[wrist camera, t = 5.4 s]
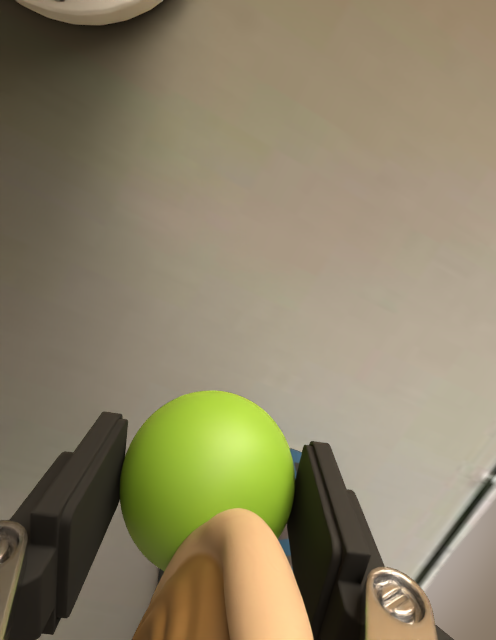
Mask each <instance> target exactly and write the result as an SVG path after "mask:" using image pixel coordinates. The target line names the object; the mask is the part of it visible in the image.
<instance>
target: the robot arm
mask: <svg viewBox="0 0 496 640" xmlns="http://www.w3.org/2000/svg"><path fill="white" fill-rule="evenodd" d="M15 1H17V2H18V3H19V4H21V5H22V6H24V7H26V8H29V9H31V10H33V11H35V12H37V13H39V14H41V15H43V16H45V17H47V18H51V19H54V20H58V21H62V22H66V23H70V24H74V25H106V24H111V23H116V22H121V21H126V20H129V19H131V18H133V17H136V16H138V15H140V14H142V13H145V12H147V11H149V10H151V9H152V8H154V7H155V6H157V5H158V4H159V3H161V2H162V1H163V0H65V1H64V0H15ZM127 427H128V420H126V419H122V414H118V413H111V412H102V413H101V415H100V416H99V418H98V419H97V420H96V422H95V423H94V425H93V426H92V427H91V429H90V430H89V432H88V433H87V434H86V436H85V437H84V439H83V440H82V441H81V443H80V444H79V445H78V447H77V448H76V450H75V451H74V452H62V453H61V454H60V455H59V456H58V458H57V459H56V460H55V462H54V463H53V464H52V466H51V467H50V468H49V469H48V471H47V472H46V473H45V475H44V476H43V477H42V479H41V480H40V481H39V482H38V484H37V485H36V486H35V488H34V489H33V490H32V492H31V493H30V494H29V495H28V497H27V498H26V499H25V501H24V502H23V503H22V505H21V506H20V507H19V508H18V510H17V511H16V512H15V514H14V515H13V516H12V518H11V519H10V520H0V640H36V639H37V638H39V637H40V636H41V634H51V635H53V634H54V632H55V630H56V628H57V625H58V623H59V621H60V619H61V618H68V617H69V615H70V614H71V612H72V609H73V607H74V605H75V602H76V600H77V598H78V595H79V593H80V591H81V589H82V586H83V584H84V582H85V579H86V577H87V575H88V572H89V570H90V568H91V565H92V563H93V561H94V559H95V556H96V554H97V552H98V549H99V547H100V545H101V542H102V540H103V538H104V535H105V533H106V531H107V529H108V526H109V524H110V522H111V519H112V517H113V515H114V512H115V510H116V508H117V506H118V503H119V500H120V477H121V471H122V466H123V462H124V459H125V449H126V438H127ZM287 531H288V538H289V545H290V553H291V560H292V567H293V574H294V577H295V579H296V582H297V585H298V588H299V590H300V593H301V596H302V599H303V602H304V605H305V609H306V612H307V615H308V619H309V622H310V626H311V630H312V634H313V639H314V640H454V639H453V638H451V637H450V636H449V635H448V634H446V633H445V632H444V631H443V630H441V629H440V628H439V627H438V626H437V625H435V621H434V615H433V610H432V607H431V604H430V601H429V599H428V598H427V596H426V594H425V593H424V591H423V590H422V589H421V588H420V586H419V585H418V584H417V583H416V582H415V581H414V580H412V579H411V578H410V577H409V576H407V575H406V574H404V573H402V572H400V571H398V570H396V569H393V568H389V567H385V566H384V564H383V561H382V559H381V556H380V554H379V551H378V549H377V546H376V544H375V541H374V539H373V536H372V534H371V531H370V529H369V526H368V524H367V521H366V519H365V516H364V514H363V512H362V509H361V507H360V504H359V502H358V499H357V497H356V495H355V493H354V492H353V491H352V490H347V489H346V487H345V484H344V482H343V479H342V476H341V474H340V471H339V468H338V466H337V463H336V460H335V458H334V455H333V452H332V450H331V447H330V445H329V444H328V443H321V442H314V441H311V442H310V444H309V445H304V447H303V450H302V454H301V458H300V462H299V466H298V470H297V475H296V479H295V493H294V500H293V505H292V509H291V513H290V516H289V519H288V521H287Z"/></svg>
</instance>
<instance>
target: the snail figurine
mask: <svg viewBox="0 0 496 640" xmlns="http://www.w3.org/2000/svg"><path fill="white" fill-rule="evenodd" d="M294 493H295V471H294V464H293V459H292V455H291V452H290V449H289V446H288V444H287V441H286V439H285V437H284V435H283V433H282V432H281V430H280V428H279V427H278V425H277V424H276V423H275V422H274V420H273V419H272V418H271V417H270V416H269V415H268V414H267V413H266V412H265V411H264V410H263V409H261V408H260V407H259V406H258V405H256V404H255V403H253V402H251V401H250V400H248V399H246V398H244V397H241V396H239V395H236V394H232V393H228V392H223V391H200V392H194V393H190V394H187V395H184V396H181V397H178V398H176V399H174V400H172V401H170V402H169V403H167V404H165V405H164V406H162V407H161V408H160V409H158V410H157V411H156V412H155V413H153V414H152V415H151V416H150V417H149V418H148V419H147V420H146V422H145V423H144V424H143V425H142V426H141V428H140V429H139V430H138V432H137V433H136V435H135V437H134V438H133V440H132V442H131V444H130V446H129V448H128V451H127V453H126V456H125V459H124V462H123V466H122V471H121V477H120V504H121V510H122V514H123V518H124V521H125V524H126V527H127V529H128V532H129V534H130V536H131V538H132V540H133V541H134V543H135V544H136V546H137V547H138V549H139V550H140V551H141V552H142V554H143V555H144V556H145V557H146V558H147V559H148V560H149V561H150V562H152V563H153V564H154V565H155V566H157V567H158V568H160V569H161V570H163V571H164V573H163V575H162V577H161V579H160V581H159V583H158V585H157V587H156V590H155V592H154V594H153V596H152V599H151V602H150V604H149V607H148V609H147V610H146V612H145V614H144V616H143V618H142V620H141V622H140V624H139V626H138V628H137V630H136V632H135V634H134V636H133V638H132V640H314V639H313V634H312V630H311V626H310V622H309V619H308V615H307V612H306V609H305V605H304V602H303V599H302V596H301V593H300V590H299V588H298V585H297V582H296V579H295V577H294V574H293V571H292V569H291V566H290V564H289V562H288V559H287V557H286V555H285V553H284V551H283V549H282V547H281V545H280V543H279V541H278V539H279V537H280V535H281V534H282V532H283V530H284V528H285V526H286V523H287V521H288V519H289V516H290V513H291V509H292V505H293V500H294Z"/></svg>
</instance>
